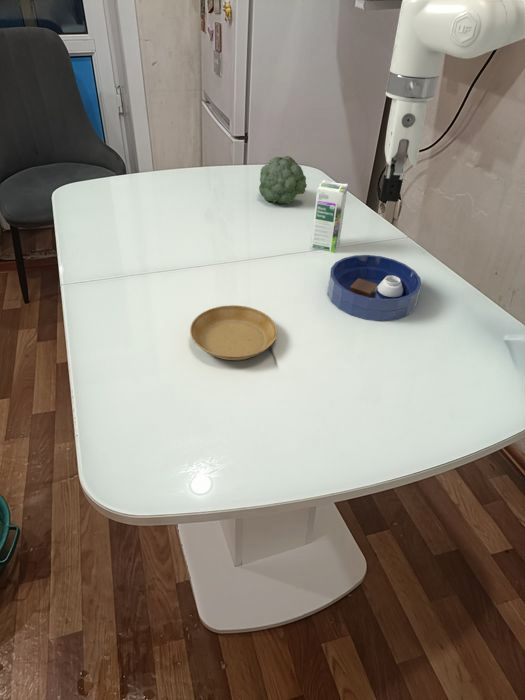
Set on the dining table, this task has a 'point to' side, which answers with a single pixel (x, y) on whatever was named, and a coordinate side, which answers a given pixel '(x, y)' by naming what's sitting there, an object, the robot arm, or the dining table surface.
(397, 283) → the white jar
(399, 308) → the bowl
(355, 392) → the dining table surface
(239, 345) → the plant saucer
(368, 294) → the walnut block
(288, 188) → the vegetable
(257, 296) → the dining table surface
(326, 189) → the syrup box
